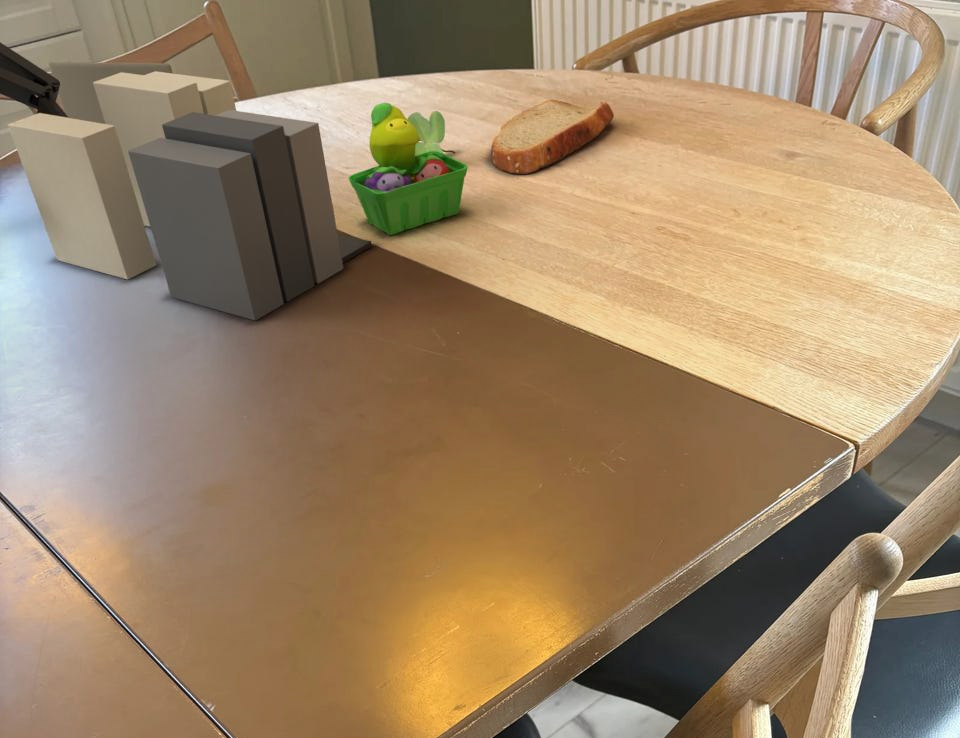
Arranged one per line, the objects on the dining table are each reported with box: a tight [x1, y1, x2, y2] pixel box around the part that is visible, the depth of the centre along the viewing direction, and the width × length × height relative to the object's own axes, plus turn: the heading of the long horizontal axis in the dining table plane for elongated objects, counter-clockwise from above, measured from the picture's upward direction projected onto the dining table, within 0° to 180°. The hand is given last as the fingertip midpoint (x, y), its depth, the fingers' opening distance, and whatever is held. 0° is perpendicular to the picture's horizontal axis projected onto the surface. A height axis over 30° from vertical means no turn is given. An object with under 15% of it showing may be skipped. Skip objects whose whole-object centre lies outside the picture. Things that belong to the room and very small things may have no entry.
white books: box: [93, 71, 237, 228], centre depth 115 cm, size 14×12×15 cm
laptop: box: [48, 61, 174, 124], centre depth 131 cm, size 18×12×13 cm
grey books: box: [128, 110, 373, 322], centre depth 100 cm, size 19×12×15 cm, turn 145°
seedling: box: [407, 110, 456, 155], centre depth 126 cm, size 7×8×6 cm
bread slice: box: [490, 99, 615, 175], centre depth 126 cm, size 18×18×4 cm
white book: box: [7, 113, 157, 280], centre depth 106 cm, size 4×12×14 cm, turn 55°
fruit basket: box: [348, 102, 469, 236], centre depth 109 cm, size 11×9×11 cm
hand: (30, 176), depth 109 cm, fingers open, 13 cm apart
